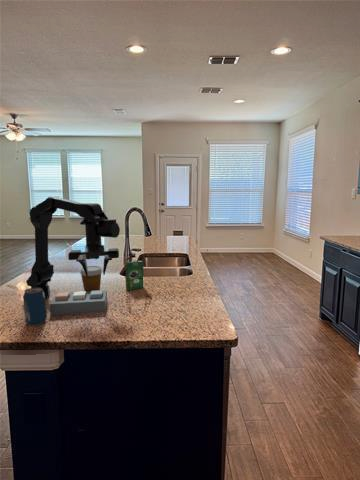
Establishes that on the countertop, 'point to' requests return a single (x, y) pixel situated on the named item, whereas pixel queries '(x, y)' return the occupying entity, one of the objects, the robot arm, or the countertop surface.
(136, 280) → the coffee box
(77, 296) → the pale key
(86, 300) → the key panel
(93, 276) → the disposable coffee cup
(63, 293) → the rust key
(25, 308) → the soda can
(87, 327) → the countertop surface
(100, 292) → the slate key
